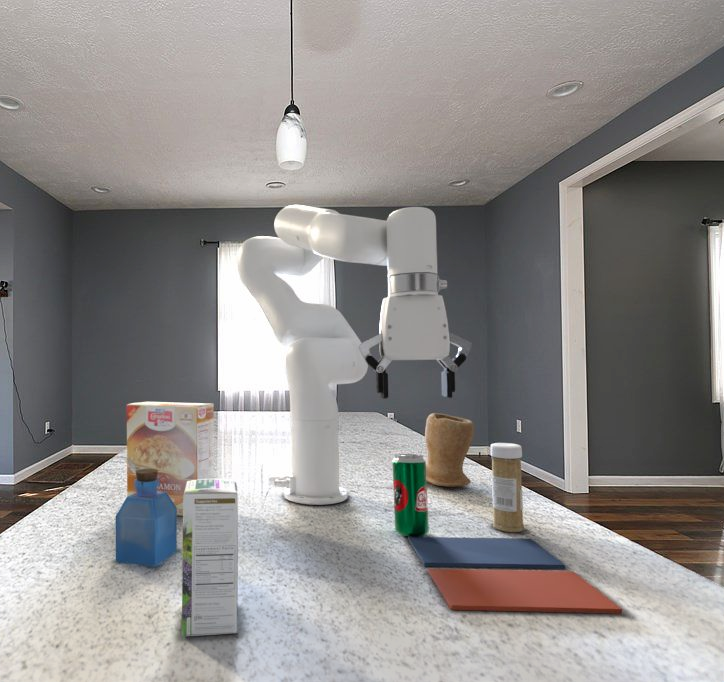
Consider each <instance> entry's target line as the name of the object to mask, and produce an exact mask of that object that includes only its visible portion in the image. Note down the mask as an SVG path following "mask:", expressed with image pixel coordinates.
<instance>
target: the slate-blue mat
mask: <svg viewBox="0 0 724 682" xmlns="http://www.w3.org/2000/svg"><path fill="white" fill-rule="evenodd" d="M407 540H408V542H409V544H410V545H411V547H412V548H413V550H414V552H415V554H416V555H417V557H418V558H419V560H420V561H421V564H422V565H423V566H424V567H443V568H444V567H450V568H451V567H452V568H453V567H454V568H502V569H503V568H504V569H505V568H509V569H566V564H564V563H563V562H562V561H561V560H560V559H558V558H557V557H556V556H554V555H553V554H551V553H550V552H549V551H548V550H546V548H544V547H543V546H542V545H541V544H539V543H538V542H536V541H535V540H533V539H532V538H526V537H525V538H522V537H520V538H519V537H455V536H454V537H451V536H450V537H449V536H448V537H445V536H441V537H440V536H421V537H410V536H407Z"/></svg>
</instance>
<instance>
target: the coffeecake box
mask: <svg viewBox="0 0 724 682" xmlns="http://www.w3.org/2000/svg"><path fill="white" fill-rule="evenodd" d="M214 407H215V405H214V403H202V402H172V401H171V402H170V401H169V402H168V401H142V402H141V401H140V402H132V403H131V402H130V403H128V404H126V497H128V496H130V495H132V494H134V493H136V488H135V487H134V480H135V479H137V477H136V472H135V471H136V470H139V469H149V468H150V469H157V470H158V472H157V478H159V486H158V487H157V491H161V492H166V493H167V494H168V496H169V497H170V499H171V500H172V502H173V503H174V505H175V506H176V508H177V516H178V517H179V516H180V517H183V495H184V492H185V488H186V484H187V481H191V480H198V479H215V420H214V419H215V416H214V411H215V408H214Z"/></svg>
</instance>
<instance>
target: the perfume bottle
mask: <svg viewBox="0 0 724 682" xmlns="http://www.w3.org/2000/svg"><path fill="white" fill-rule="evenodd" d="M135 472H136V477H137V479H135V480H134V487H135V488H136V493H134V494H132V495H130V496H128V497H127V496H126V497H125V499H124V501H123V502H122V505H121V506H120V508H119V510H118V511H117V513H116V515H115V562H116V563H123V564H129V565H137V566H145V567H151V568H156V567H158V566H159V565H160V564H162V563H163V562H164V561H166V560H167V559H168V558H169V557H171V556H172V555H174V554H175V553H176V552H178V515H177V508H176V506H175V505H174V503H173V502H172V500H171V499H170V497H169V496H168V494H167V493H166V492H161V491H157V487H158V486H159V478H157V472H158V470H157V469H150V468H149V469H139V470H136V471H135Z"/></svg>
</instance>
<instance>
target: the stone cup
mask: <svg viewBox="0 0 724 682" xmlns="http://www.w3.org/2000/svg"><path fill="white" fill-rule="evenodd" d="M474 436H475V425H474V423H473V421H472V420H470V419H467V418H463V417H459V416H453V415H450V414H445V413H439V412H433V413H430V414H429V415H428V416H427V418H426V421H425V431H424V439H425V440H424V441H425V446H426V455H427V457H426V460H424V461H425V462H426V480H427V483H429V484H432V485H436V486H441V487H463V486H468V485H470V484H471V479H470V478H469V477H468V476H467V475H466V474H465V473H464V467H463V466H464V463H465V459H466V456H467V454H468V452H469V450H470V448H471V445H472V442H473V440H474Z"/></svg>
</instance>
